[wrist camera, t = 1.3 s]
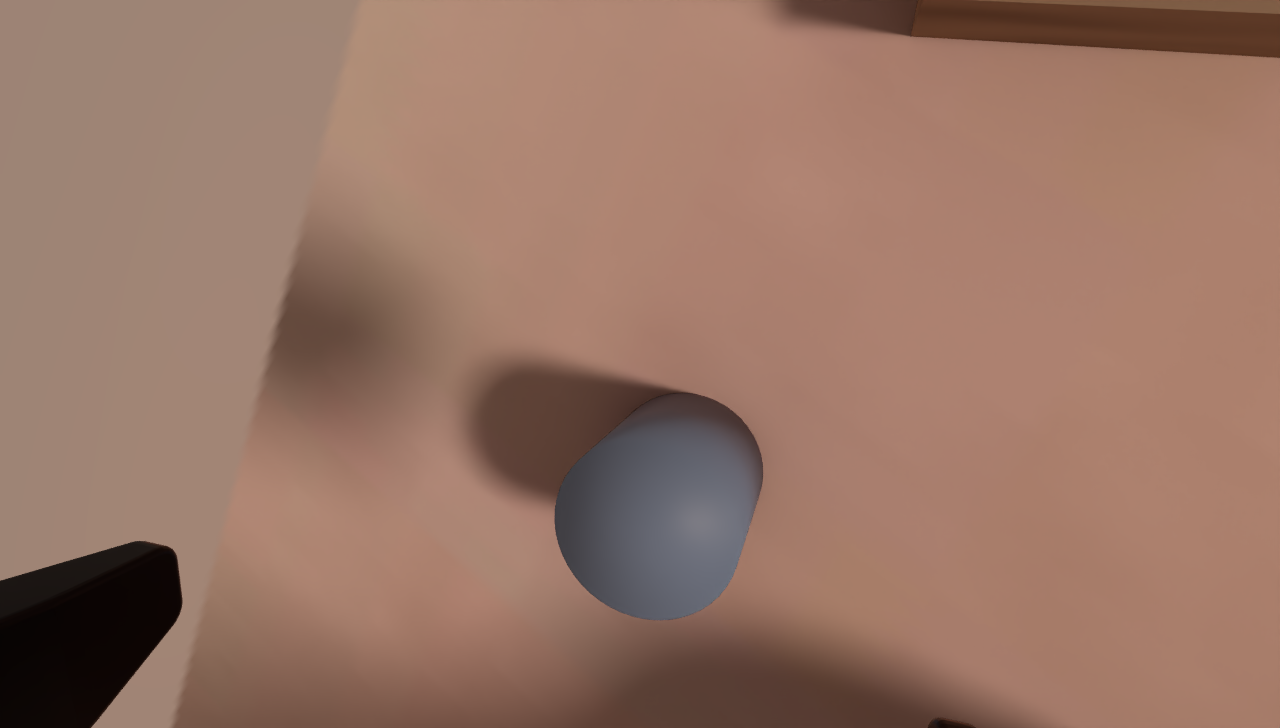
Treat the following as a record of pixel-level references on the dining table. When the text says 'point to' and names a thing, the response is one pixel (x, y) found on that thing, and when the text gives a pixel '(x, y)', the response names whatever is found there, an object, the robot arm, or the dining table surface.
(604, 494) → the grey rounded cylinder
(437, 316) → the dining table surface
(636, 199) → the dining table surface
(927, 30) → the walnut slab
